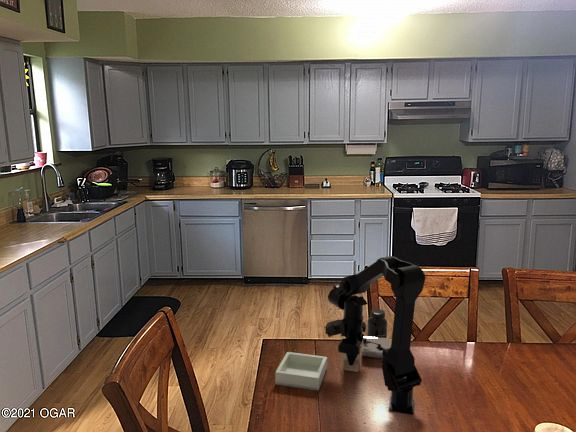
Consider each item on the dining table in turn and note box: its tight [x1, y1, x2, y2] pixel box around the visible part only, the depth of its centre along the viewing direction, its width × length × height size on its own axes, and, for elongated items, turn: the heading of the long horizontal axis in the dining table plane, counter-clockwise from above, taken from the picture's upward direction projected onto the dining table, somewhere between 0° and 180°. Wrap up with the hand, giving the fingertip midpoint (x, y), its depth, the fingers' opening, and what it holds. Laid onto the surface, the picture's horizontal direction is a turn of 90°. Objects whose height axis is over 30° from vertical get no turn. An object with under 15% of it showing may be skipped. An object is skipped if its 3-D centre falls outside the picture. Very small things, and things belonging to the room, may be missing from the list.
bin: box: [274, 351, 328, 391], centre depth 147 cm, size 13×13×4 cm
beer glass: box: [361, 334, 392, 359], centre depth 159 cm, size 7×7×15 cm
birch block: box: [343, 341, 362, 373], centre depth 151 cm, size 4×4×8 cm
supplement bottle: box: [366, 308, 388, 338], centre depth 167 cm, size 7×7×12 cm
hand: (352, 361), depth 152 cm, fingers closed on birch block, 4 cm apart
